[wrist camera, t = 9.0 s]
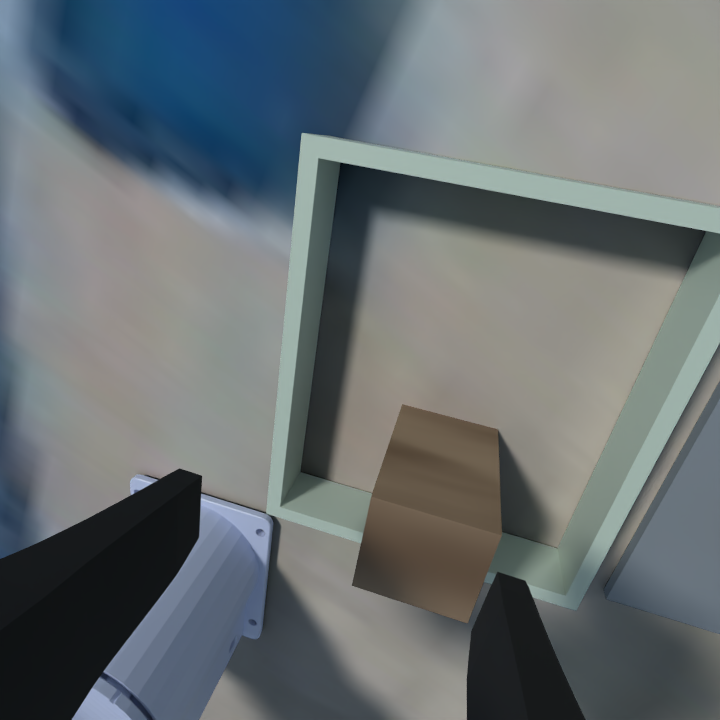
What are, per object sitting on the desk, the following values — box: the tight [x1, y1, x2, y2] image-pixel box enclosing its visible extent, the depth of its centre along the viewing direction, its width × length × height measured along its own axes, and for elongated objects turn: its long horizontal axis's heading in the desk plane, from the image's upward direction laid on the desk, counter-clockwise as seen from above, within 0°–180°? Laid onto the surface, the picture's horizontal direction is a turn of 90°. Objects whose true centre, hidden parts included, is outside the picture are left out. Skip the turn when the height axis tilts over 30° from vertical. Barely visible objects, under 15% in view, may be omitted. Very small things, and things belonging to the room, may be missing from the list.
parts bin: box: [266, 133, 720, 611], centre depth 18 cm, size 15×13×2 cm
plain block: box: [352, 404, 502, 624], centre depth 18 cm, size 4×4×6 cm
